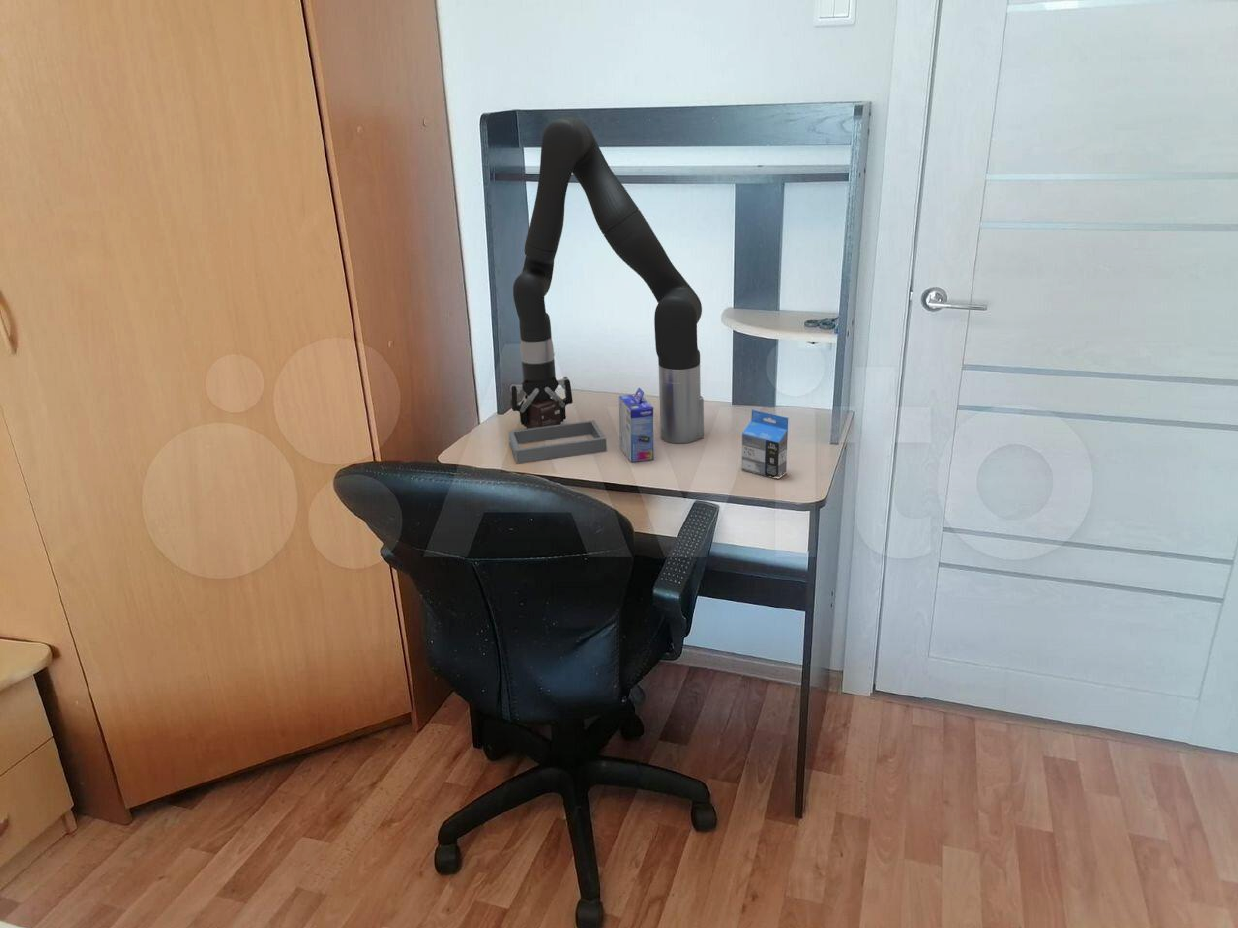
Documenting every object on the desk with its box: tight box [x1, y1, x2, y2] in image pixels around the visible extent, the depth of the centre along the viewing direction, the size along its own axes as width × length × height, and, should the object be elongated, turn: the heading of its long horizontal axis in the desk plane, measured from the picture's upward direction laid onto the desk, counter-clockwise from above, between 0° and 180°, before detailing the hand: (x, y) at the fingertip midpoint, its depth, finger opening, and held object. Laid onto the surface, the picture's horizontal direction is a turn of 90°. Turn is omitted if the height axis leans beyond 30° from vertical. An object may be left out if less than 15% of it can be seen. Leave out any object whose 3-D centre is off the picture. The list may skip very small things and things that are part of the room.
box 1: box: [525, 397, 562, 429], centre depth 213 cm, size 6×6×7 cm
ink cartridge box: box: [618, 387, 655, 463], centre depth 196 cm, size 10×6×14 cm, turn 16°
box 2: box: [507, 419, 608, 464], centre depth 203 cm, size 20×12×3 cm, turn 104°
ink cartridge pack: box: [741, 409, 789, 477], centre depth 185 cm, size 9×4×12 cm, turn 51°
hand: (543, 423), depth 213 cm, fingers open, 8 cm apart
